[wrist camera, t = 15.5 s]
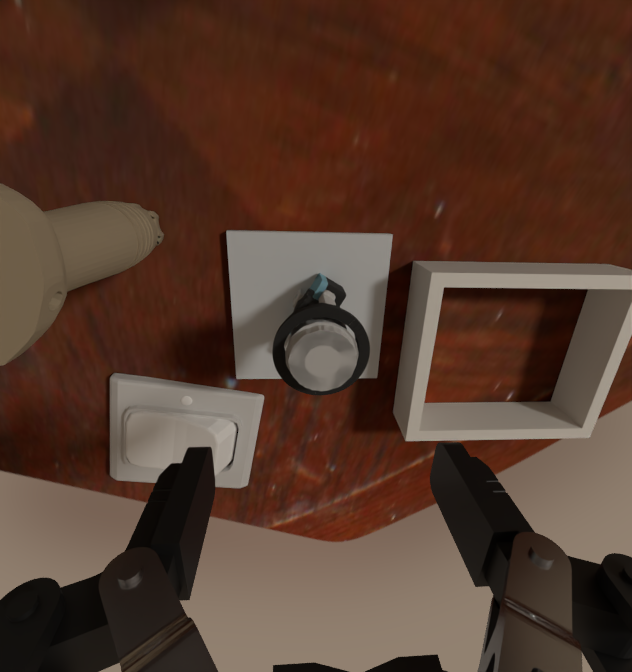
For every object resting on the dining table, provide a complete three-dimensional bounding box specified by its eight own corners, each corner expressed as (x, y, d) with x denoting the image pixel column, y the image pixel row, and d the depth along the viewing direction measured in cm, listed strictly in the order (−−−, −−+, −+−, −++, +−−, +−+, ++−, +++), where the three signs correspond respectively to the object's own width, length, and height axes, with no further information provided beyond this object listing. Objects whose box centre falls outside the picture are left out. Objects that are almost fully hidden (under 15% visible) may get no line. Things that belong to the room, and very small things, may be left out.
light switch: (246, 510, 33) (95, 502, 30) (248, 476, 36) (114, 466, 34) (265, 413, 29) (93, 395, 26) (265, 386, 32) (115, 368, 30)
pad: (237, 375, 30) (236, 378, 30) (227, 230, 26) (226, 231, 25) (375, 374, 31) (377, 378, 30) (390, 233, 26) (392, 234, 26)
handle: (189, 200, 25) (58, 218, 11) (163, 282, 27) (26, 384, 13) (118, 167, 24) (-126, 141, 10) (97, 255, 26) (-129, 335, 12)
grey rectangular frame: (392, 412, 33) (405, 441, 29) (413, 260, 27) (431, 272, 24) (557, 410, 34) (589, 437, 30) (608, 264, 28) (655, 275, 25)
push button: (315, 358, 29) (325, 436, 20) (258, 328, 28) (241, 397, 19) (360, 291, 27) (394, 344, 18) (301, 255, 26) (305, 293, 17)
